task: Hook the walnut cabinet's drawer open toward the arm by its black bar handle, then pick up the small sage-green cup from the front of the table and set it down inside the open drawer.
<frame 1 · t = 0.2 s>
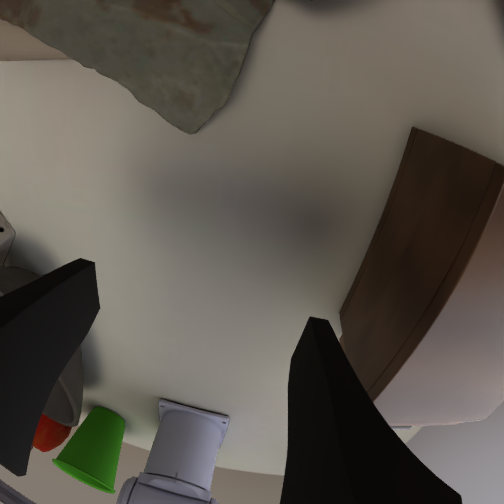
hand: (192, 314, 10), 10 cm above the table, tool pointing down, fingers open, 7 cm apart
drawer: (432, 345, 16), point 5 cm above the table, slide at 0.5 cm
cup: (110, 415, 36), on the table
ice cream cone: (144, 61, 13), point 1 cm above the table, touching stone
stone: (50, 65, 11), point 4 cm above the table, touching ice cream cone
bowl: (52, 326, 27), on the table
cabinet: (441, 250, 18), on the table
apple: (59, 395, 36), on the table
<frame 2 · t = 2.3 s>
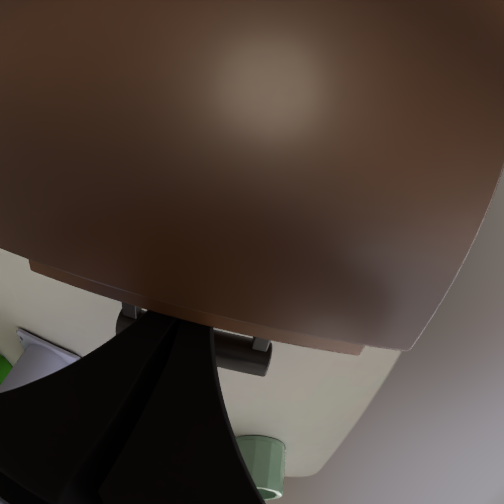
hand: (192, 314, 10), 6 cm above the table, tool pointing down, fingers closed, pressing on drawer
drawer: (229, 128, 8), point 5 cm above the table, slide at 0.0 cm, touching cabinet, gripper
cup: (3, 362, 28), on the table
green cup: (258, 446, 26), on the table
cabinet: (267, 32, 10), on the table
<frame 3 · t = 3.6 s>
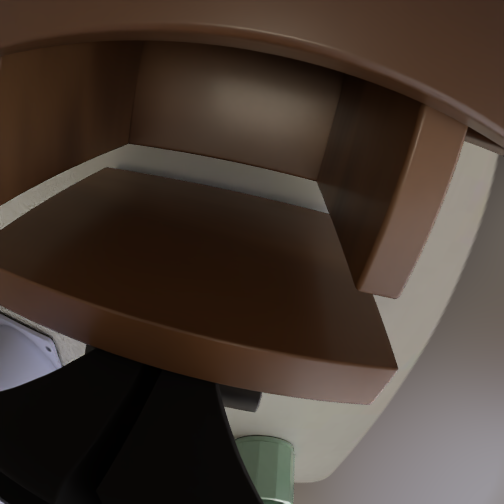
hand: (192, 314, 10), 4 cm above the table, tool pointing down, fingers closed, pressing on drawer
drawer: (208, 119, 7), point 5 cm above the table, slide at 4.1 cm, touching gripper
green cup: (261, 448, 22), on the table
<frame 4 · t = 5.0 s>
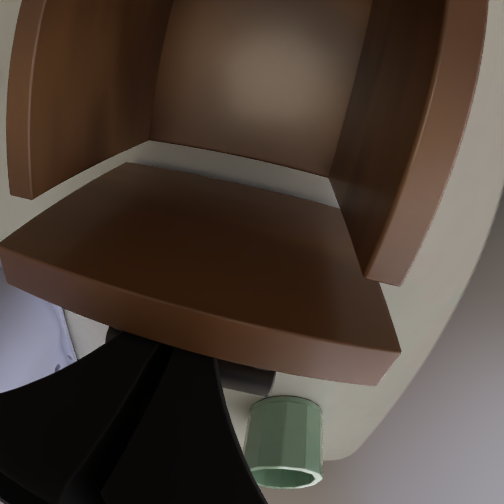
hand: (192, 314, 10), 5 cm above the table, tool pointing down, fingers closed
drawer: (228, 120, 7), point 5 cm above the table, slide at 8.8 cm
green cup: (285, 414, 21), on the table
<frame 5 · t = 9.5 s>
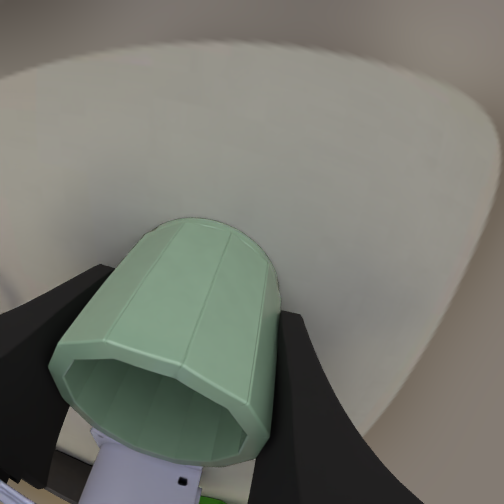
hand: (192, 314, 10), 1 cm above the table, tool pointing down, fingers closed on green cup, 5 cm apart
cup: (207, 499, 27), on the table
bowl: (87, 468, 30), on the table
green cup: (202, 288, 11), on the table, touching gripper
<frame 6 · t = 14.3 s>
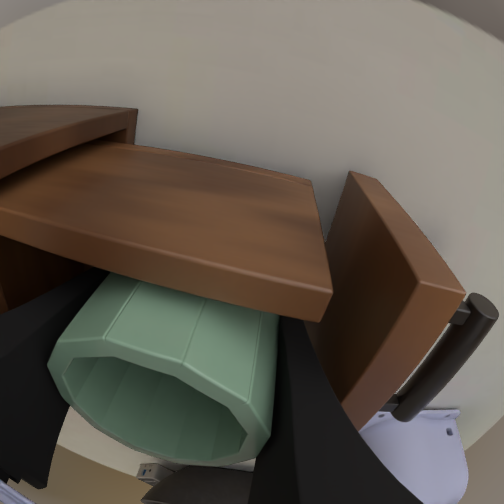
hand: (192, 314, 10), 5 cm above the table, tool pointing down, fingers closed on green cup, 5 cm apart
drawer: (238, 313, 10), point 5 cm above the table, slide at 8.9 cm
multiport hub: (179, 478, 33), on the table
bowl: (243, 478, 30), on the table
green cup: (202, 286, 11), point 4 cm above the table, touching gripper
cabinet: (32, 196, 14), on the table
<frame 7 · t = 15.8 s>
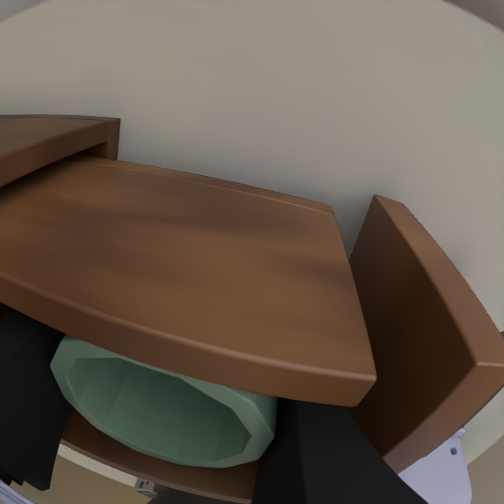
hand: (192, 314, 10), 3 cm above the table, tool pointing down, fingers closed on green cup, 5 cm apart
drawer: (249, 359, 9), point 5 cm above the table, slide at 9.4 cm, touching gripper
multiport hub: (177, 490, 32), on the table
bowl: (241, 492, 28), on the table
green cup: (205, 287, 11), point 2 cm above the table, touching gripper
cabinet: (16, 212, 13), on the table
when the fingers open (3 cm above the table, at t = 16.1 s): green cup stays where it is, resting on drawer.
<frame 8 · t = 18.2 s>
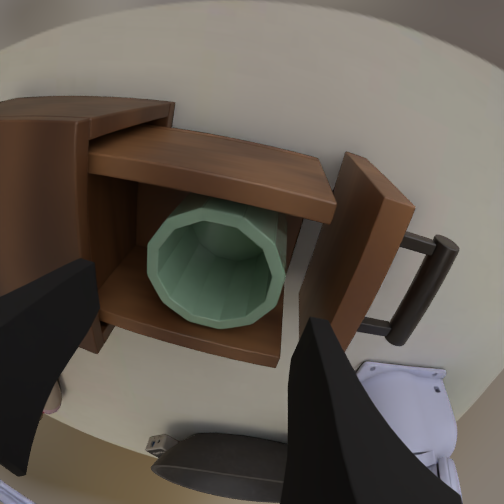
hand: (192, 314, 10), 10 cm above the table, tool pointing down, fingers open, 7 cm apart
drawer: (269, 248, 14), point 5 cm above the table, slide at 9.6 cm, touching green cup
ice cream cone: (44, 347, 27), point 1 cm above the table, touching stone
multiport hub: (186, 451, 38), on the table
bowl: (247, 446, 34), on the table
green cup: (234, 219, 16), point 2 cm above the table, touching drawer
cabinet: (77, 171, 18), on the table
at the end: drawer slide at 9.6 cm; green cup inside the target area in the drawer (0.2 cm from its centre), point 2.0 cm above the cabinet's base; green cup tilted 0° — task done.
